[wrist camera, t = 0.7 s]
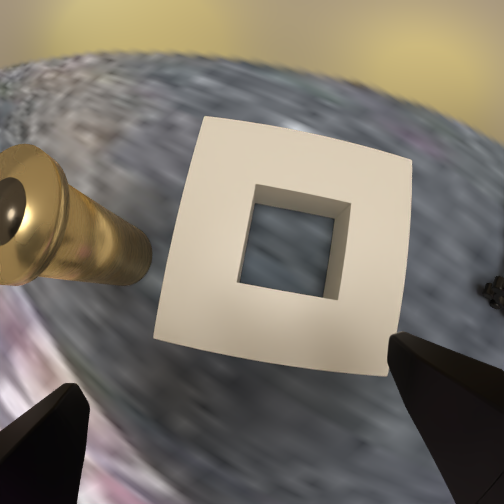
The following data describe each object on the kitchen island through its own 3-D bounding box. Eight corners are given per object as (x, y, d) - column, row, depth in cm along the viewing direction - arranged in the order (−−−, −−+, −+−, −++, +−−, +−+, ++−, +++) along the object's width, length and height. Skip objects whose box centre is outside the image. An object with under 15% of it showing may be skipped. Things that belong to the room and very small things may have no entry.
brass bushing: (150, 300, 21) (34, 301, 8) (86, 283, 21) (-46, 266, 8) (166, 225, 22) (74, 144, 9) (102, 214, 22) (-13, 143, 9)
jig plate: (365, 363, 21) (387, 376, 17) (170, 330, 21) (153, 338, 17) (389, 179, 23) (411, 160, 19) (211, 143, 23) (204, 116, 19)
